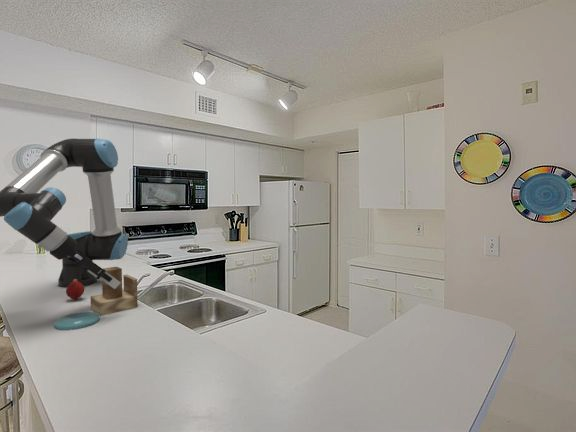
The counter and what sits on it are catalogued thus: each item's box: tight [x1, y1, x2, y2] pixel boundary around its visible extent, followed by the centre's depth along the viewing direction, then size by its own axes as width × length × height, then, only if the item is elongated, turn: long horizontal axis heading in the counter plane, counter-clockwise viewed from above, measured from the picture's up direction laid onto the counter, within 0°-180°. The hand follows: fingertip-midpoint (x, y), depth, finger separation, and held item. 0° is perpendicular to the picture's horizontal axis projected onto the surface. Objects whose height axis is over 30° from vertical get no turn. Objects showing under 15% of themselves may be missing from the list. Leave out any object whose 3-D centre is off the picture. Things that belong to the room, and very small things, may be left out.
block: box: [101, 266, 123, 300], centre depth 117 cm, size 5×5×10 cm
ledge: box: [90, 274, 139, 316], centre depth 117 cm, size 12×11×10 cm
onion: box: [65, 279, 85, 301], centre depth 126 cm, size 6×6×8 cm
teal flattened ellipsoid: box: [53, 311, 101, 331], centre depth 103 cm, size 12×12×1 cm
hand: (111, 282), depth 116 cm, fingers open, 13 cm apart
